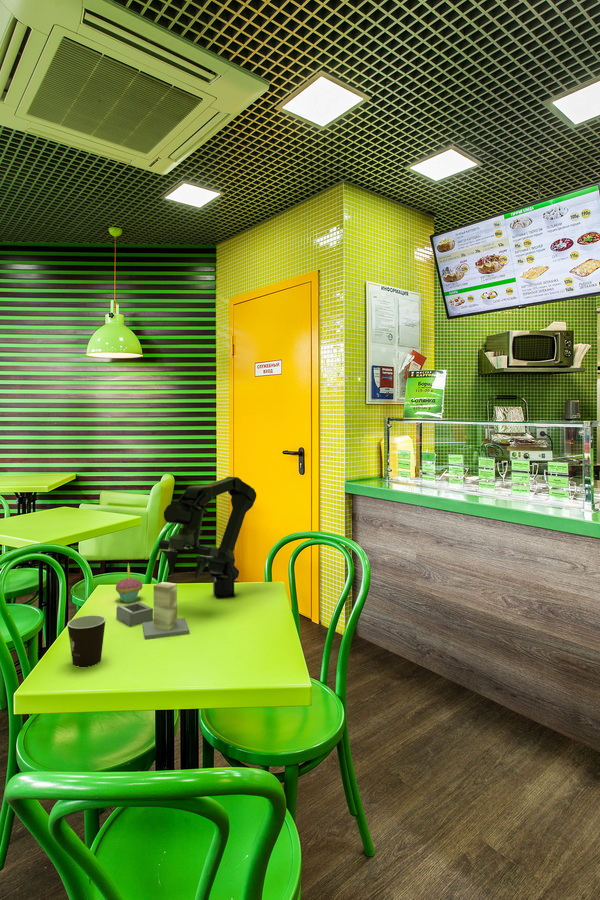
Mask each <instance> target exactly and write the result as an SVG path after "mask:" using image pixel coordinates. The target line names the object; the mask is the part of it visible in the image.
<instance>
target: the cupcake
mask: <svg viewBox="0 0 600 900" xmlns="http://www.w3.org/2000/svg"><path fill="white" fill-rule="evenodd" d="M130 566H131V565H130V563H129V562H128V563H127V578H124V579H121V580H119V581H118V582H117V583H116V585H115V591H116V592H117V594H118V596H119V597H120V600H121V602H123V603H131V601H132V602H135V601H136V600H137V598H138V594H139V592H140V591H141V590H142V589H143V582H142V581H141V580H139V579H137V578H134V577H131V570H130V569H131V568H130Z"/></svg>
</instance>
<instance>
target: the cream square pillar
mask: <svg viewBox="0 0 600 900" xmlns="http://www.w3.org/2000/svg"><path fill="white" fill-rule="evenodd" d="M177 619H178V584H177V583H174V582H168V581H167V582H164V581H161V582H159V583H157V584H154V585H153V621H154V628H159V629H165V630H170V629H171V628H173V627H175V626H176V625H177Z"/></svg>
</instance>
